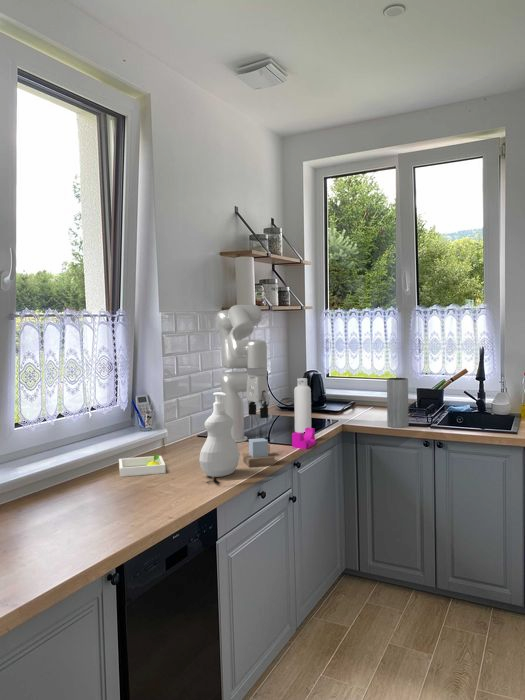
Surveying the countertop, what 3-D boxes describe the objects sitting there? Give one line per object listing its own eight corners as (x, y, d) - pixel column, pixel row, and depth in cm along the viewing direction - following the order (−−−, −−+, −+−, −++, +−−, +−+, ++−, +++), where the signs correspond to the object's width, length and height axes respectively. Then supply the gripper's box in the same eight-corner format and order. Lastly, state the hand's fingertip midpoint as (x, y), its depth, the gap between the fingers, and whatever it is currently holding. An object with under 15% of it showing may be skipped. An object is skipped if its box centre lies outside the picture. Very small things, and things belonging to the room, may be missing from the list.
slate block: (249, 454, 217) (248, 439, 217) (263, 453, 219) (263, 438, 219) (253, 457, 211) (252, 442, 211) (268, 456, 213) (267, 440, 213)
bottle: (314, 435, 270) (313, 378, 269) (306, 438, 263) (305, 379, 262) (299, 434, 274) (298, 377, 274) (291, 437, 268) (290, 378, 267)
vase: (388, 435, 266) (387, 379, 266) (386, 432, 276) (386, 377, 275) (409, 436, 265) (409, 379, 264) (407, 432, 275) (407, 377, 274)
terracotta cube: (255, 455, 230) (254, 443, 230) (266, 454, 231) (266, 442, 231) (258, 457, 225) (258, 445, 225) (270, 456, 226) (269, 444, 226)
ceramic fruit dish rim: (119, 466, 213) (118, 458, 213) (161, 463, 218) (161, 455, 218) (120, 476, 198) (119, 468, 198) (165, 473, 202) (165, 464, 202)
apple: (154, 482, 209) (156, 459, 207) (140, 479, 211) (141, 456, 210) (165, 476, 215) (166, 454, 214) (151, 473, 217) (152, 451, 216)
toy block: (305, 452, 235) (305, 434, 235) (292, 450, 238) (292, 433, 238) (320, 445, 248) (319, 428, 248) (307, 444, 251) (307, 427, 251)
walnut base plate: (242, 461, 219) (242, 453, 218) (267, 459, 221) (267, 451, 221) (249, 467, 209) (249, 459, 209) (274, 465, 212) (274, 457, 212)
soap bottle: (215, 482, 189) (213, 395, 188) (191, 476, 196) (190, 394, 195) (247, 472, 202) (246, 391, 201) (224, 467, 209) (223, 389, 208)
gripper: (239, 371, 221) (239, 414, 222) (259, 374, 206) (260, 420, 207) (255, 370, 225) (256, 412, 226) (276, 373, 210) (277, 418, 210)
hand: (258, 416), depth 216 cm, fingers open, 9 cm apart
